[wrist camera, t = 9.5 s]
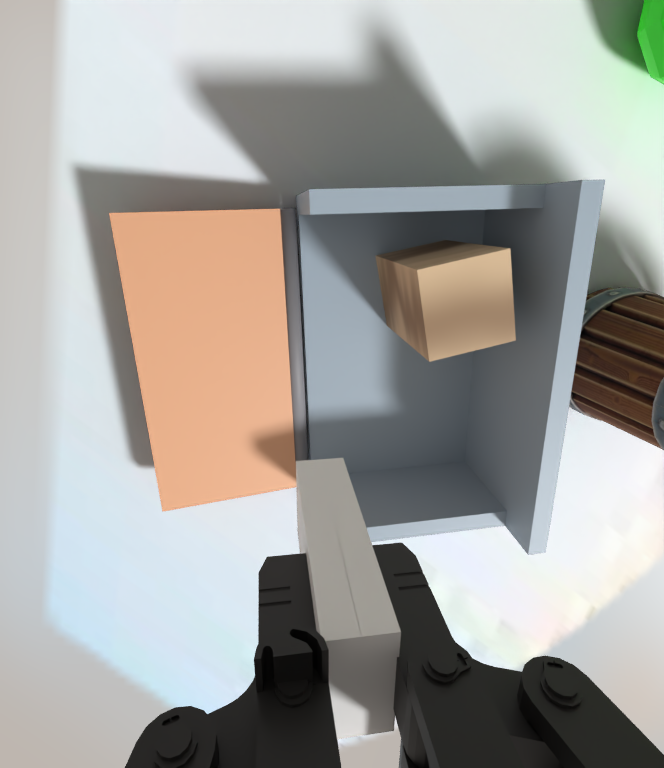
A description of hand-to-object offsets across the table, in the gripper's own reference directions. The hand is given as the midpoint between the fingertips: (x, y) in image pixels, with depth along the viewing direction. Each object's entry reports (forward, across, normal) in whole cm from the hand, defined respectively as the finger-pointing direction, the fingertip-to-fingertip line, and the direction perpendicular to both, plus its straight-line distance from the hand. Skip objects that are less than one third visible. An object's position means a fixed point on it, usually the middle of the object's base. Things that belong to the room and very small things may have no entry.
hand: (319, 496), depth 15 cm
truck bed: (+21, +8, -1) cm, 23 cm away
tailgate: (+19, 0, -2) cm, 19 cm away
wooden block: (+20, +9, +4) cm, 22 cm away
